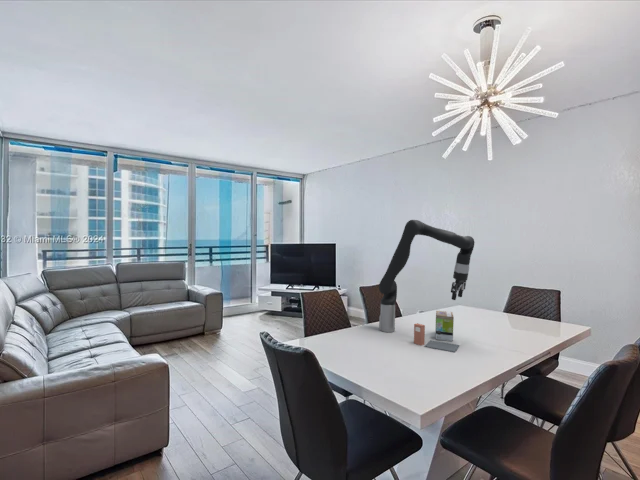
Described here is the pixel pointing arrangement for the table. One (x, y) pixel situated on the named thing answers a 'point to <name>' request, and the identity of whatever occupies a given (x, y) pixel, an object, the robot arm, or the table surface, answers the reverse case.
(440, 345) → the mat
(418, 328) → the card box
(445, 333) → the tea box
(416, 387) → the table surface
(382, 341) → the table surface
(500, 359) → the table surface
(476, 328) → the table surface
